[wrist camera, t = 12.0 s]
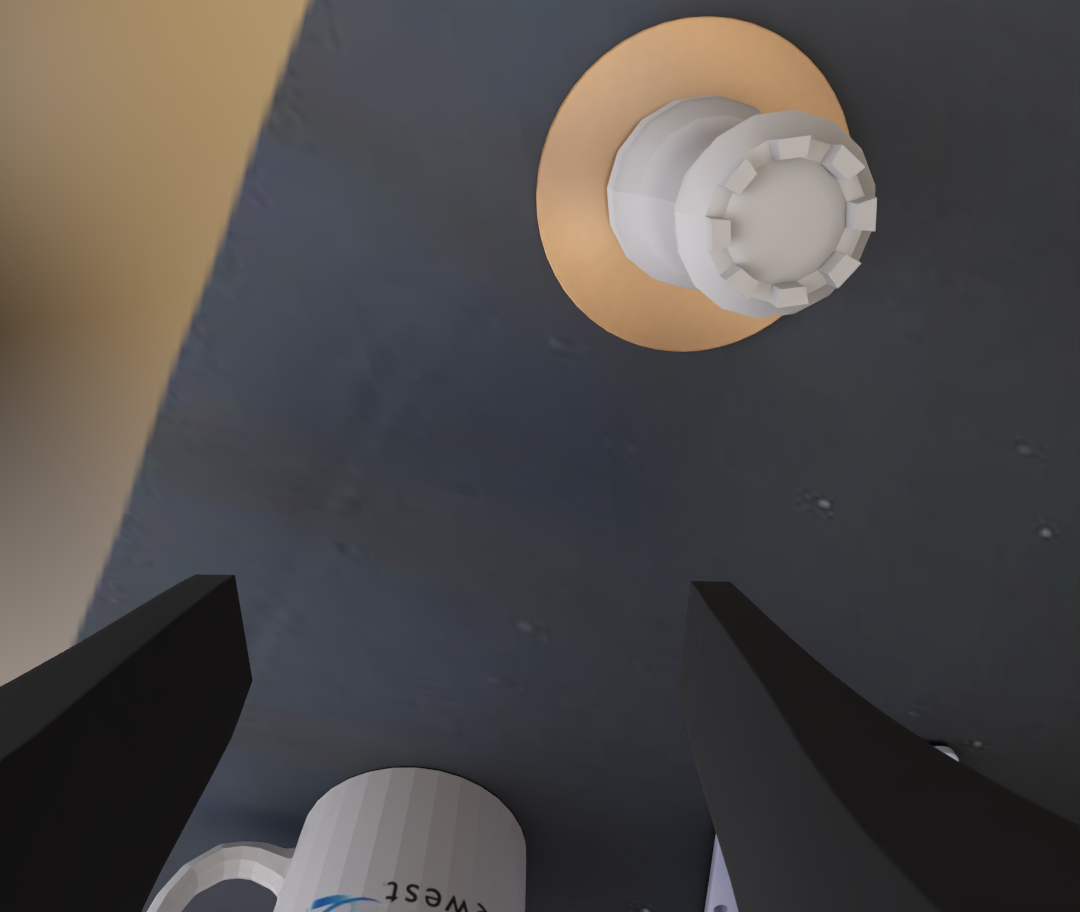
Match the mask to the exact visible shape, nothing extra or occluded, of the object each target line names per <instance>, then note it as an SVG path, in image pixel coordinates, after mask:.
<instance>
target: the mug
mask: <svg viewBox="0 0 1080 912" xmlns="http://www.w3.org/2000/svg"><path fill="white" fill-rule="evenodd" d="M233 878H242V879H248V880H253V881H255V882H257V883H259V884H261V885H263V886H265V887H267V888H269V889H271V890H272V891H273V893H274V894H275V895H276V896H277V898H278V900H277V903H276V906H275V909H274V911H273V912H525V893H526V843H525V840H524V836H523V833H522V830H521V827H520V826H519V824H518V822H517V821H516V819H515V817H514V816H513V814H512V813H511V811H510V810H509V809H508V808H507V807H506V806H505V805H504V804H503V803H502V802H501V801H500V800H499V799H498V798H497V797H495V796H494V795H492V794H491V793H489V792H488V791H487V790H485V789H484V788H482V787H481V786H479V785H477V784H474V783H472V782H470V781H468V780H466V779H464V778H462V777H459V776H455V775H452V774H449V773H445V772H442V771H437V770H430V769H423V768H388V769H382V770H376V771H370V772H367V773H364V774H361V775H358V776H355V777H352V778H350V779H348V780H346V781H344V782H342V783H341V784H339V785H337V786H335V787H333V788H332V789H331V790H329V791H328V792H327V793H326V794H325V795H324V796H322V797H321V798H320V799H319V800H318V801H317V802H316V804H315V805H314V807H313V808H312V809H311V811H310V812H309V814H308V815H307V818H306V821H305V823H304V826H303V829H302V831H301V834H300V837H299V840H298V843H297V846H296V848H286V849H285V848H282V847H278V846H275V845H272V844H268V843H263V842H252V841H241V842H233V843H225V844H219V845H218V846H216V847H214V848H213V849H211V850H209V851H207V852H206V853H204V854H202V855H200V856H199V857H197V858H195V859H193V860H192V861H190V862H188V863H186V864H185V865H183V866H182V868H181V869H180V870H179V871H178V872H177V873H176V874H175V875H174V876H173V877H172V879H171V880H170V881H169V882H168V883H167V884H166V885H165V886H164V887H163V888H162V890H161V891H160V892H159V893H158V894H157V896H156V897H155V899H154V901H153V902H152V904H151V906H150V907H149V909H148V911H147V912H181V911H182V910H183V909H184V907H185V906H186V905H187V904H188V903H189V902H190V900H191V899H192V898H193V897H194V896H195V895H196V894H198V893H200V892H201V891H203V890H205V889H207V888H209V887H211V886H212V885H214V884H216V883H218V882H220V881H222V880H226V879H233Z"/></svg>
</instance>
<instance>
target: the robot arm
mask: <svg viewBox="0 0 1080 912" xmlns="http://www.w3.org/2000/svg"><path fill="white" fill-rule="evenodd" d="M251 683H252V675H251V669H250V663H249V657H248V651H247V645H246V639H245V633H244V627H243V622H242V616H241V610H240V604H239V598H238V592H237V586H236V580H235V575H194V576H192V577H190V578H188V579H186V580H184V581H182V582H181V583H179V584H177V585H175V586H173V587H172V588H170V589H168V590H166V591H165V592H163V593H161V594H160V595H158V596H156V597H155V598H153V599H151V600H150V601H148V602H146V603H145V604H143V605H141V606H140V607H138V608H136V609H135V610H133V611H131V612H130V613H128V614H126V615H125V616H123V617H121V618H120V619H118V620H116V621H115V622H113V623H111V624H110V625H108V626H106V627H105V628H103V629H102V630H100V631H98V632H97V633H95V634H93V635H92V636H90V637H88V638H87V639H85V640H83V641H82V642H80V643H78V644H76V645H75V646H73V647H71V648H69V649H68V650H66V651H64V652H62V653H60V654H59V655H57V656H55V657H53V658H51V659H50V660H48V661H46V662H44V663H42V664H41V665H39V666H37V667H35V668H34V669H32V670H30V671H28V672H26V673H24V674H23V675H21V676H19V677H18V678H16V679H14V680H12V681H10V682H8V683H6V684H4V685H3V686H1V687H0V912H141V911H142V909H143V907H144V905H145V902H146V900H147V898H148V896H149V894H150V892H151V890H152V888H153V886H154V884H155V882H156V880H157V878H158V876H159V874H160V872H161V870H162V868H163V866H164V864H165V862H166V860H167V859H168V857H169V855H170V853H171V851H172V849H173V847H174V846H175V844H176V842H177V840H178V838H179V836H180V834H181V832H182V831H183V829H184V827H185V825H186V823H187V821H188V819H189V817H190V816H191V814H192V812H193V810H194V808H195V806H196V804H197V803H198V801H199V799H200V797H201V795H202V793H203V791H204V789H205V788H206V786H207V784H208V782H209V780H210V778H211V776H212V774H213V772H214V770H215V769H216V767H217V765H218V763H219V761H220V759H221V757H222V755H223V753H224V751H225V749H226V747H227V745H228V743H229V741H230V739H231V737H232V735H233V732H234V729H235V727H236V724H237V722H238V719H239V717H240V714H241V711H242V708H243V706H244V703H245V700H246V697H247V694H248V691H249V688H250V686H251ZM679 686H680V692H681V699H682V705H683V711H684V717H685V723H686V729H687V734H688V740H689V745H690V748H691V752H692V755H693V759H694V762H695V765H696V769H697V772H698V776H699V779H700V782H701V786H702V789H703V792H704V796H705V799H706V802H707V805H708V809H709V812H710V815H711V819H712V822H713V825H714V828H715V832H716V836H715V843H714V850H713V856H712V863H711V870H710V877H709V883H708V890H707V897H706V903H705V910H704V912H1080V825H1078V824H1075V823H1073V822H1071V821H1069V820H1067V819H1065V818H1063V817H1061V816H1059V815H1057V814H1055V813H1053V812H1051V811H1049V810H1047V809H1044V808H1042V807H1041V806H1039V805H1037V804H1035V803H1033V802H1031V801H1029V800H1027V799H1025V798H1023V797H1021V796H1019V795H1018V794H1016V793H1014V792H1012V791H1010V790H1008V789H1006V788H1004V787H1002V786H1001V785H999V784H997V783H995V782H994V781H992V780H990V779H988V778H987V777H985V776H983V775H981V774H980V773H978V772H976V771H974V770H973V769H971V768H969V767H967V766H966V765H964V764H962V763H960V762H959V759H958V757H957V756H956V754H955V753H954V751H953V750H952V749H951V748H949V747H945V746H932V745H931V744H929V743H928V742H926V741H924V740H923V739H921V738H920V737H919V736H917V735H916V734H914V733H913V732H911V731H910V730H908V729H907V728H905V727H904V726H902V725H901V724H899V723H898V722H896V721H895V720H893V719H892V718H890V717H889V716H887V715H886V714H884V713H883V712H882V711H880V710H879V709H877V708H876V707H875V706H873V705H872V704H870V703H869V702H868V701H866V700H865V699H864V698H862V697H861V696H860V695H859V694H857V693H856V692H855V691H854V690H852V689H851V688H850V687H848V686H847V685H846V684H845V683H843V682H842V681H841V680H839V679H838V678H837V677H836V676H834V675H833V674H832V673H831V672H829V671H828V670H827V669H826V668H825V667H823V666H822V665H821V664H820V663H819V662H817V661H816V660H815V659H814V658H813V657H812V656H810V655H809V654H808V653H807V652H806V651H805V650H803V649H802V648H801V647H800V646H799V645H798V644H797V643H796V642H794V641H793V640H792V639H791V638H790V637H789V636H788V635H787V634H786V633H784V632H783V631H782V630H781V629H780V628H779V627H778V626H777V625H776V624H775V623H774V622H772V621H771V620H770V619H769V618H768V617H767V616H766V615H765V614H764V613H763V612H762V611H761V610H760V609H759V608H758V607H756V606H755V605H754V604H753V603H752V602H751V601H750V600H749V599H748V598H747V597H746V596H745V595H744V594H743V593H742V592H740V591H739V590H738V589H737V588H736V587H735V586H734V585H733V584H731V583H730V582H704V581H691V585H690V594H689V604H688V613H687V622H686V631H685V640H684V649H683V658H682V667H681V676H680V685H679Z"/></svg>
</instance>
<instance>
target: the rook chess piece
mask: <svg viewBox="0 0 1080 912" xmlns="http://www.w3.org/2000/svg"><path fill="white" fill-rule="evenodd" d="M607 196H608V208H609V220H610V226H611V228H612V230H613V232H614V234H615V236H616V238H617V240H618V242H619V244H620V246H621V248H622V250H623V252H624V254H625V256H626V257H627V258H628V259H630V260H631V261H632V262H633V263H634V264H636V265H637V266H638V267H639V268H641V269H642V270H643V271H644V272H645V273H647V274H648V275H649V276H650V277H651V278H654V279H656V280H658V281H660V282H663V283H667V284H671V285H674V286H678V287H681V288H685V289H688V290H696V289H699V290H700V291H701V292H703V293H704V294H705V295H706V296H707V297H708V298H710V299H711V300H712V301H713V302H714V303H716V304H717V305H718V306H719V307H720V308H722V309H725V310H728V311H732V312H735V313H739V314H742V315H746V316H750V317H753V318H764V317H773V316H781V315H789V314H795V313H797V312H798V311H800V310H802V309H804V308H806V307H808V306H810V305H812V304H814V303H816V302H817V301H819V300H821V299H823V298H825V297H827V296H829V295H830V294H831V293H832V292H833V291H834V289H835V288H839V287H840V286H841V285H842V284H843V283H844V282H845V281H846V279H847V278H848V277H849V276H850V275H851V274H852V273H853V272H854V271H855V270H856V269H857V268H858V266H859V265H860V264H861V263H860V262H859V259H860V257H861V255H862V252H863V250H864V248H865V245H866V243H867V241H868V238H869V236H870V234H871V231H875V228H876V208H877V197H875V184H874V181H873V178H872V175H871V173H870V170H869V167H868V165H867V162H866V159H865V156H864V154H863V151H862V148H860V147H859V146H858V145H857V144H856V143H855V142H854V141H853V140H852V139H851V138H850V137H849V136H848V135H847V134H846V133H845V132H844V131H843V130H842V129H841V128H840V127H839V126H838V125H837V124H836V123H835V122H834V121H831V120H828V119H824V118H821V117H818V116H815V115H812V114H808V113H805V112H802V111H799V110H796V109H795V110H788V111H780V112H773V113H766V114H762V113H761V112H760V111H759V110H758V109H757V108H756V107H754V106H751V105H748V104H744V103H741V102H738V101H735V100H732V99H728V98H725V97H722V96H714V95H707V96H699V97H692V98H685V99H678V100H674V101H672V102H670V103H669V104H667V105H665V106H664V107H662V108H660V109H659V110H657V111H655V112H654V113H652V114H651V115H649V116H647V117H646V118H644V119H642V120H641V121H640V123H639V124H638V125H637V126H636V128H635V129H634V130H633V132H632V133H631V134H630V136H629V137H628V138H627V140H626V141H625V142H624V144H623V145H622V146H621V148H620V149H619V150H618V152H617V155H616V159H615V162H614V166H613V169H612V172H611V176H610V179H609V183H608V186H607Z"/></svg>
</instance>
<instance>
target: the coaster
mask: <svg viewBox="0 0 1080 912" xmlns="http://www.w3.org/2000/svg"><path fill="white" fill-rule="evenodd" d="M707 95H714V96H722V97H725V98H728V99H732V100H735V101H738V102H741V103H744V104H748V105H751V106H754V107H756V108H757V109H758V110H759V111H760V112H761V113H762V114H766V113H773V112H780V111H788V110H795V109H796V110H799V111H802V112H805V113H808V114H812V115H815V116H818V117H821V118H824V119H828V120H831V121H834V122H835V123H836V124H837V125H838V126H839V127H840V128H841V129H842V130H843V131H844V132H845V133H846V134H847V135H848V136H849V137H850V134H849V130H848V127H847V123H846V120H845V116H844V113H843V111H842V108H841V106H840V104H839V102H838V99H837V97H836V95H835V93H834V91H833V89H832V88H831V86H830V85H829V83H828V81H827V80H826V78H825V77H824V75H823V74H822V73H821V71H820V70H819V69H818V68H817V67H816V66H815V64H814V63H813V62H812V61H811V60H810V59H809V58H808V57H807V56H806V55H805V54H804V53H803V52H802V51H800V50H799V49H798V48H797V47H796V46H795V45H793V44H792V43H791V42H789V41H787V40H786V39H784V38H783V37H781V36H779V35H778V34H776V33H775V32H773V31H770V30H768V29H766V28H763V27H761V26H759V25H756V24H754V23H750V22H746V21H742V20H738V19H734V18H726V17H716V16H701V17H687V18H682V19H677V20H672V21H667V22H664V23H661V24H658V25H655V26H653V27H650V28H647V29H644V30H642V31H640V32H639V33H637V34H635V35H633V36H631V37H629V38H627V39H625V40H623V41H622V42H621V43H619V44H618V45H616V46H615V47H614V48H612V49H611V50H609V51H608V52H607V53H605V54H604V55H603V56H602V57H601V58H600V59H598V60H597V61H596V62H595V63H594V64H593V65H592V66H591V67H590V68H589V69H588V70H587V71H586V72H585V73H584V74H583V76H582V77H581V78H580V79H579V80H578V82H577V83H576V84H575V85H574V86H573V88H572V89H571V91H570V92H569V94H568V95H567V97H566V98H565V100H564V102H563V103H562V105H561V106H560V108H559V110H558V112H557V114H556V116H555V118H554V120H553V123H552V125H551V127H550V129H549V132H548V135H547V138H546V141H545V144H544V147H543V150H542V154H541V159H540V164H539V169H538V175H537V189H536V205H537V219H538V225H539V231H540V236H541V240H542V243H543V246H544V250H545V253H546V256H547V259H548V261H549V263H550V265H551V267H552V270H553V272H554V274H555V276H556V278H557V279H558V281H559V282H560V284H561V286H562V287H563V289H564V290H565V292H566V293H567V295H568V296H569V297H570V298H571V299H572V301H573V302H574V303H575V304H576V305H577V307H578V308H579V309H580V310H581V311H583V312H584V313H585V314H586V315H587V316H588V317H589V318H590V319H591V320H592V321H594V322H595V323H597V324H598V325H599V326H601V327H602V328H604V329H605V330H607V331H608V332H610V333H612V334H614V335H616V336H618V337H620V338H622V339H624V340H626V341H629V342H632V343H634V344H637V345H640V346H643V347H648V348H652V349H657V350H663V351H676V352H686V351H701V350H707V349H712V348H718V347H721V346H724V345H728V344H731V343H734V342H737V341H739V340H742V339H744V338H746V337H749V336H751V335H753V334H755V333H757V332H759V331H760V330H762V329H764V328H765V327H767V326H769V325H770V324H772V323H773V322H775V321H776V320H777V319H779V318H780V317H781V316H783V315H781V316H773V317H764V318H753V317H750V316H746V315H742V314H739V313H735V312H732V311H728V310H725V309H722V308H720V307H719V306H718V305H717V304H716V303H714V302H713V301H712V300H711V299H710V298H708V297H707V296H706V295H705V294H704V293H703V292H701V291H700V290H699V289H696V290H688V289H685V288H681V287H678V286H674V285H671V284H667V283H663V282H660V281H658V280H656V279H654V278H651V277H650V276H649V275H648V274H647V273H645V272H644V271H643V270H642V269H641V268H639V267H638V266H637V265H636V264H634V263H633V262H632V261H631V260H630V259H628V258H627V257H626V256H625V254H624V252H623V250H622V248H621V246H620V244H619V242H618V240H617V238H616V236H615V234H614V232H613V230H612V228H611V226H610V220H609V208H608V196H607V186H608V183H609V179H610V176H611V172H612V169H613V166H614V162H615V159H616V155H617V152H618V150H619V149H620V148H621V146H622V145H623V144H624V142H625V141H626V140H627V138H628V137H629V136H630V134H631V133H632V132H633V130H634V129H635V128H636V126H637V125H638V124H639V123H640V121H641V120H642V119H644V118H646V117H647V116H649V115H651V114H652V113H654V112H655V111H657V110H659V109H660V108H662V107H664V106H665V105H667V104H669V103H670V102H672V101H674V100H678V99H685V98H692V97H699V96H707Z"/></svg>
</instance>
